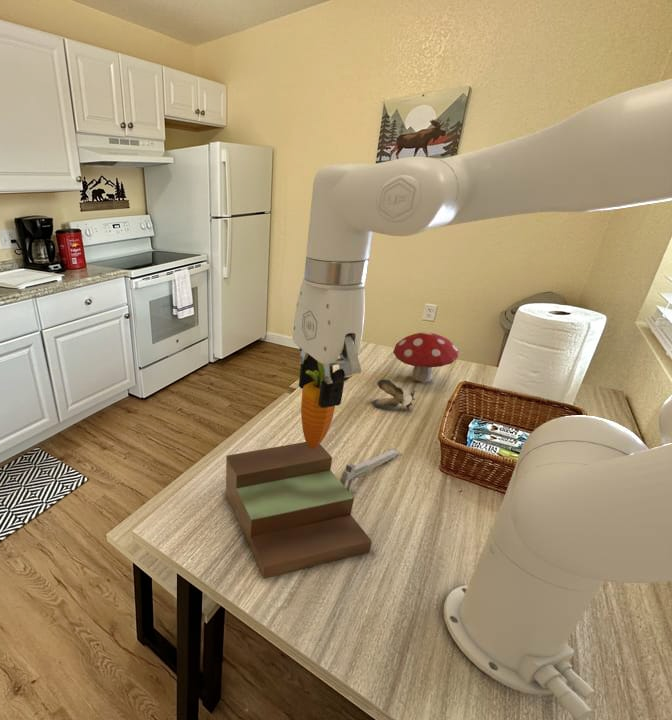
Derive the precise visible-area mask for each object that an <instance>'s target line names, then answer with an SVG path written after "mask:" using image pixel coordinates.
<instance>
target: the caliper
mask: <svg viewBox="0 0 672 720" xmlns="http://www.w3.org/2000/svg"><path fill="white" fill-rule="evenodd" d="M399 454H400V451H397V450H395V449H390V450H387V451H385V452H383V453H381V454H379V455H377V456H375V457H373V458H370V459H369V460H366V461H361V462H359V463H357V464H354V463H352V462H350V463H349V464H346V466H345V469H344V470H343V471H342V474H341V477H340V479H339V481H340V482H341V483H342V484H343V485H344V486H345V488H346V489H347V490H348V491H349V492H351V490H352V488H353V485H354V483H355V481H356V479H361V478H362V477H364V476H365V475H366V473H367V472H369V471H372V469H373V470H374V469H375V468H376V467H379V466H380V465H383V464H384V463H387V462H388V461H390V460H392V459H395V458H396V456H397V455H399Z"/></svg>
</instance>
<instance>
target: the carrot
mask: <svg viewBox="0 0 672 720" xmlns="http://www.w3.org/2000/svg"><path fill="white" fill-rule="evenodd" d="M317 363H318V368H319V373H320V376H319V373H318V371H316V370H315V371H314V372H312V371H310V370H307V371H306V374H308V375H310V376H311V377H312V378H313V380H314V381H313V382H310V383H308V384H306V385H304V387H303V389H302V390H301V403H300V404H301V406H300V408H301V409H300V415H301V426H302V433H303V434H302V435H303V437H304V440H305V442H306V443H307V445H308V447H309V448H310V449H315V448H316V447H317V446H318V445H319V444H320V445H321V443H322V442H323V440H324V439H325V438H326V436H327V434H328V431H329V430H330V426H331V425H332V421H333V417H334V414H335V408H336V406H331V407H324V408H321V407H320V406H319V396H320V389H321V381H325V369H324V365H323V364H321V363H320V362H318V361H317Z"/></svg>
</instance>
